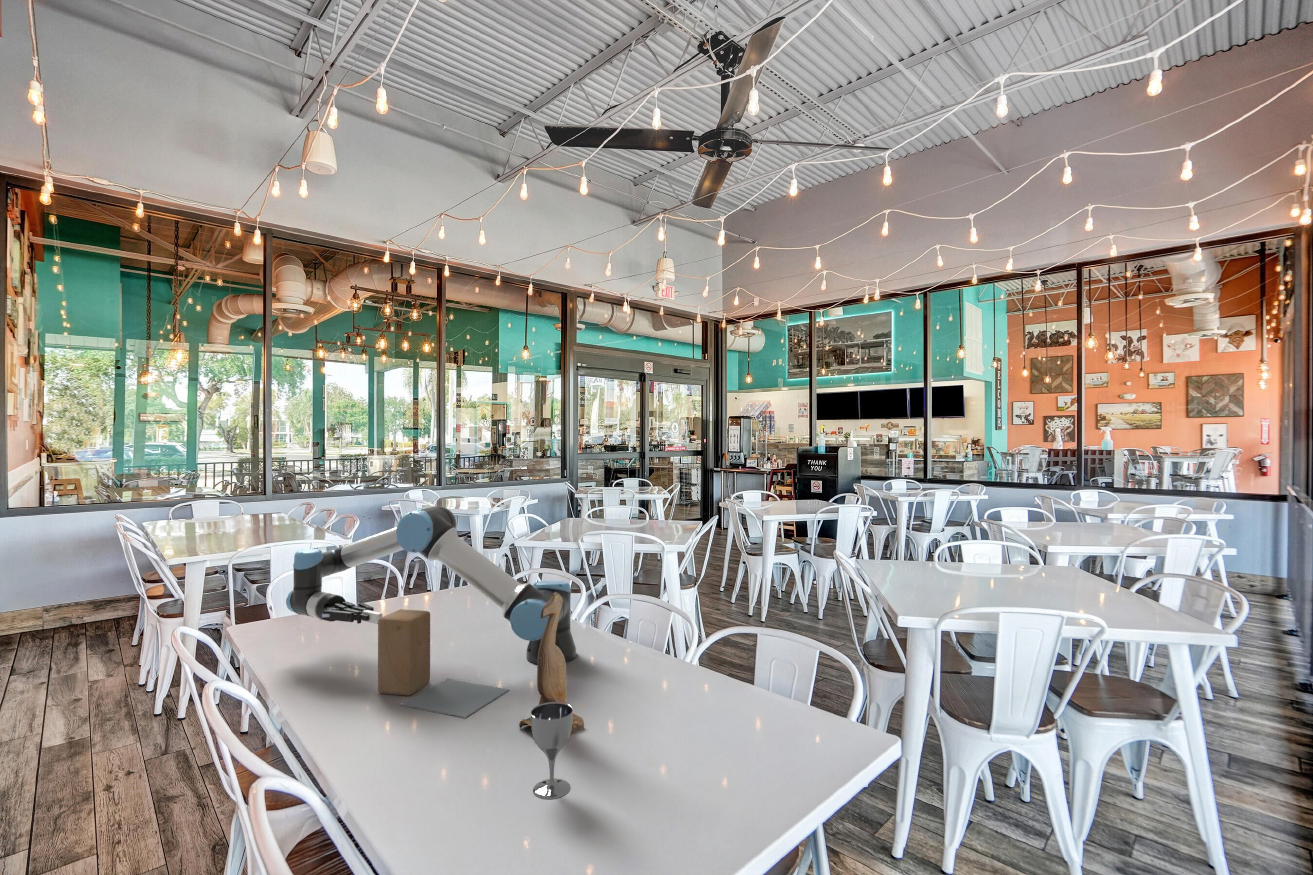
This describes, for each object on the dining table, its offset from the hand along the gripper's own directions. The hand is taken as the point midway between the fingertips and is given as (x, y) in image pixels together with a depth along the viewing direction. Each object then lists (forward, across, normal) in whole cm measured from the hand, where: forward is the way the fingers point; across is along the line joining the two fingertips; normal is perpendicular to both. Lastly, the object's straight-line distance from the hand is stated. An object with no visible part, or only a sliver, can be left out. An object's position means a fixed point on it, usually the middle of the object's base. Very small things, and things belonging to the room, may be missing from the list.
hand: (379, 618), depth 174 cm
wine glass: (+75, +19, -17) cm, 80 cm away
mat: (+27, -3, -17) cm, 32 cm away
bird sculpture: (+59, -1, -17) cm, 62 cm away
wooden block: (+10, 0, -18) cm, 20 cm away
